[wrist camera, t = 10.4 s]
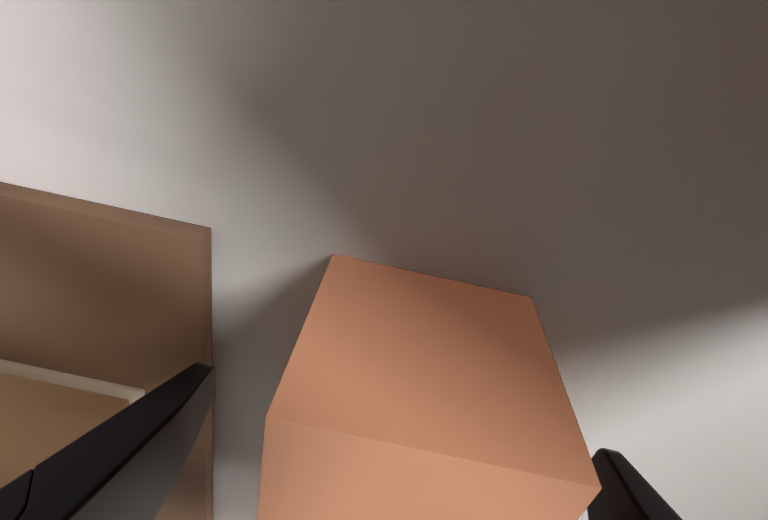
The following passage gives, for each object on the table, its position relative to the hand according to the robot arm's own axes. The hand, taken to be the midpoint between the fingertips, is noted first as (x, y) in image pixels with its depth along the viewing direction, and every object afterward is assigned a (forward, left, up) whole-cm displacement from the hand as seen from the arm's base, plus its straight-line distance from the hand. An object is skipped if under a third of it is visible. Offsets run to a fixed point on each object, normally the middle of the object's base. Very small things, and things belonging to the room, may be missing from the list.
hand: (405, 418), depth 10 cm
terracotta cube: (0, 0, -2) cm, 2 cm away
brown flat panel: (-6, +10, -2) cm, 12 cm away
